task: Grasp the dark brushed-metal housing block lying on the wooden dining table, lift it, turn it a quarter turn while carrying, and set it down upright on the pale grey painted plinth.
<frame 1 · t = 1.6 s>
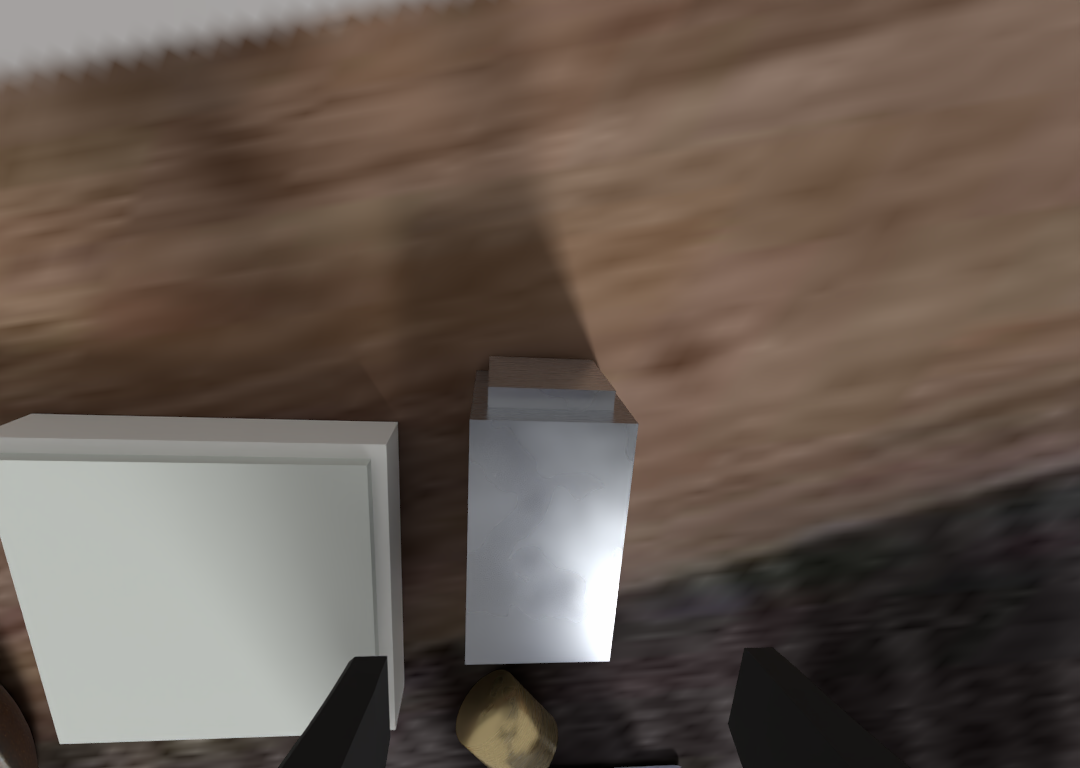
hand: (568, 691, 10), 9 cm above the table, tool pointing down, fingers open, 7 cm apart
yellow rounded lump: (528, 747, 21), point 1 cm above the table, tilted 90°
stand: (240, 565, 19), on the table
housing: (533, 472, 19), on the table
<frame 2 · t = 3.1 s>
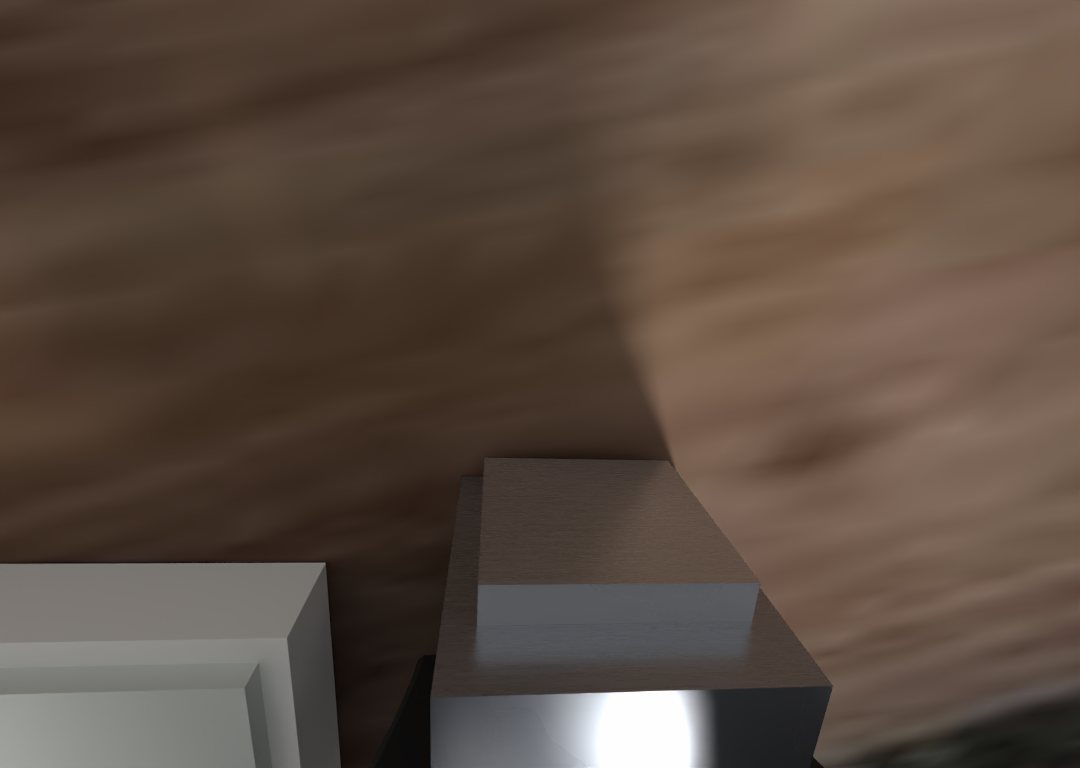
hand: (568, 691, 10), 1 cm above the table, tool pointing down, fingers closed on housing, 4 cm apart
housing: (559, 636, 11), on the table, touching gripper
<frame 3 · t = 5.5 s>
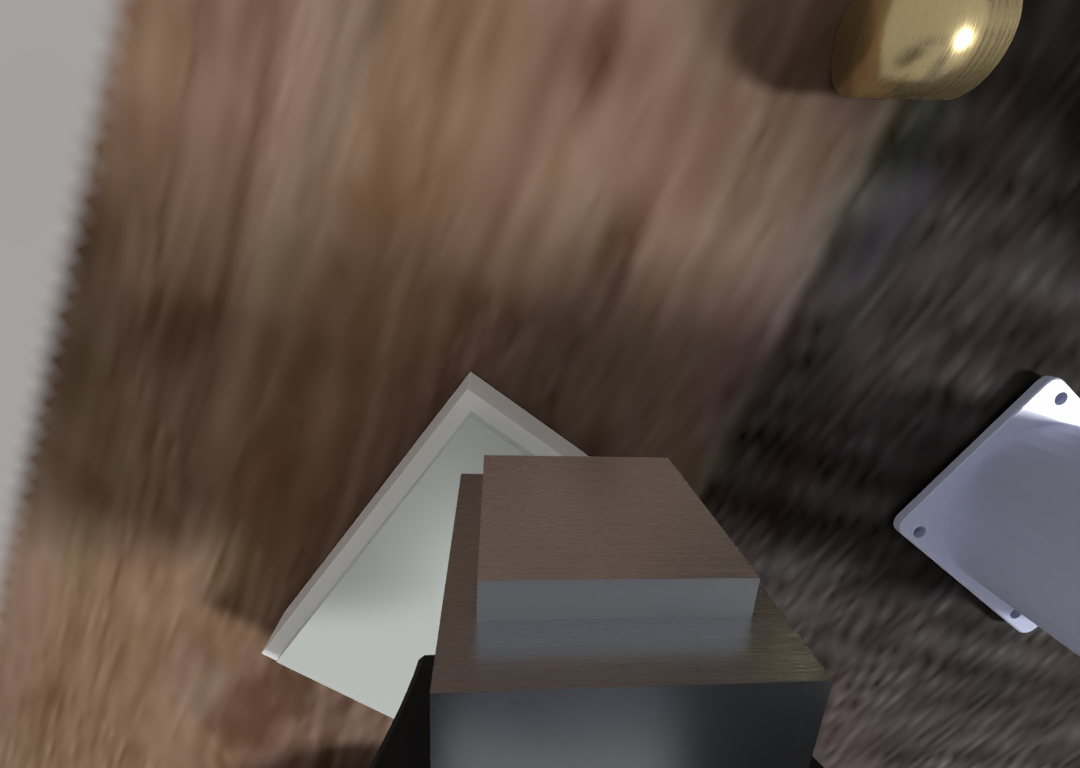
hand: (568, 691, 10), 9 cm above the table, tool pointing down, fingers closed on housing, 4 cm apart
yellow rounded lump: (967, 38, 14), point 1 cm above the table, tilted 90°
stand: (504, 578, 20), on the table
housing: (559, 634, 11), point 7 cm above the table, touching gripper
when the fingers open (5 cm above the table, at t = 7.0 s): housing stays where it is, resting on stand.
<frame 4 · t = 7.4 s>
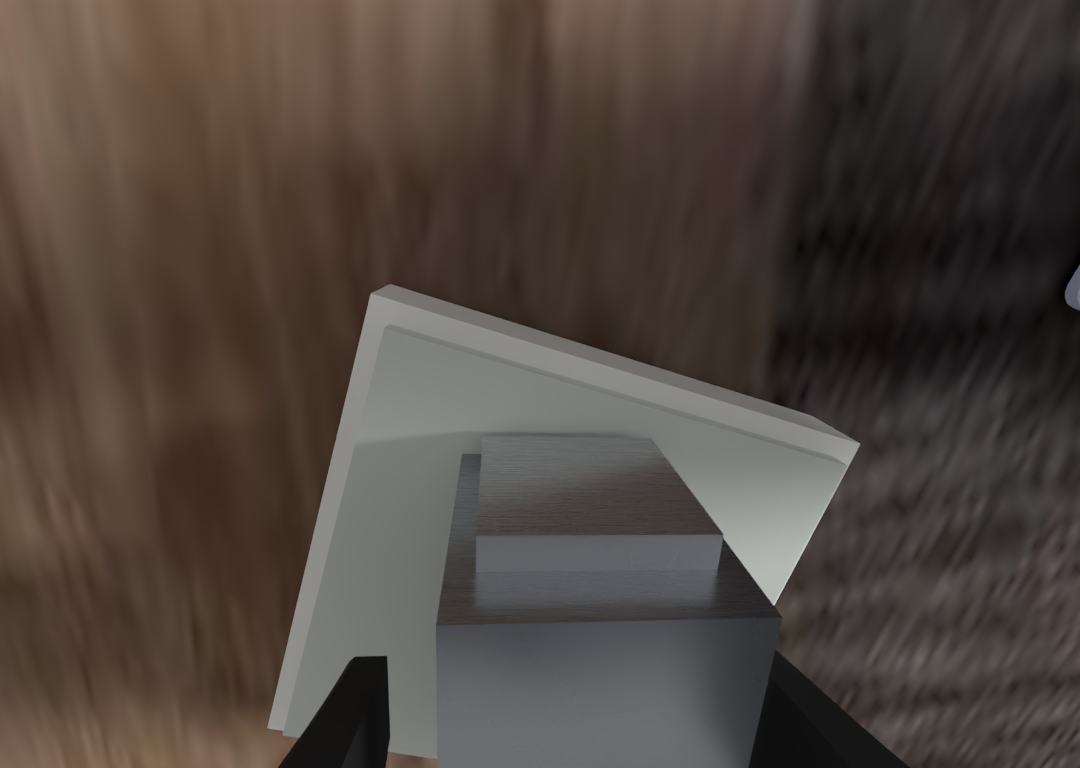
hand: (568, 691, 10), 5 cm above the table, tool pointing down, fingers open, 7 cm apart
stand: (545, 544, 15), on the table
housing: (553, 604, 12), point 2 cm above the table, touching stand
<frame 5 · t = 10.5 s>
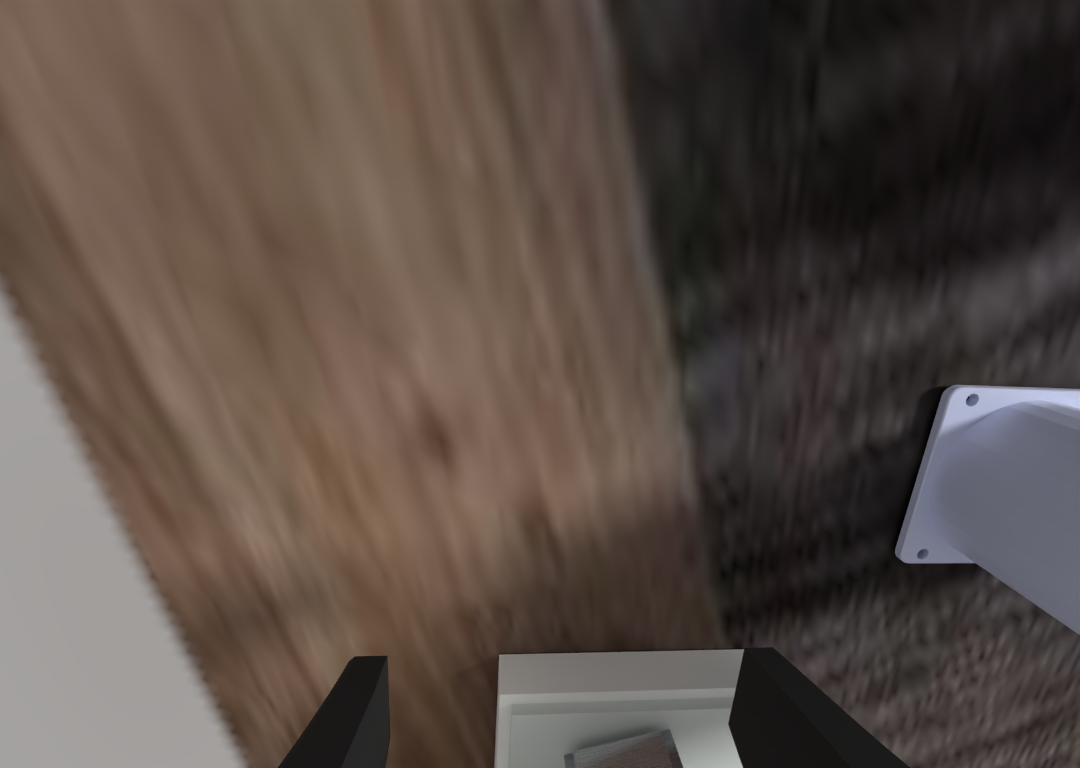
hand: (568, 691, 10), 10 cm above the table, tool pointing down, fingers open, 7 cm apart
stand: (619, 751, 24), on the table
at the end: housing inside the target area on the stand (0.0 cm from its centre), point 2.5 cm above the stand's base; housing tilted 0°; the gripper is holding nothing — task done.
